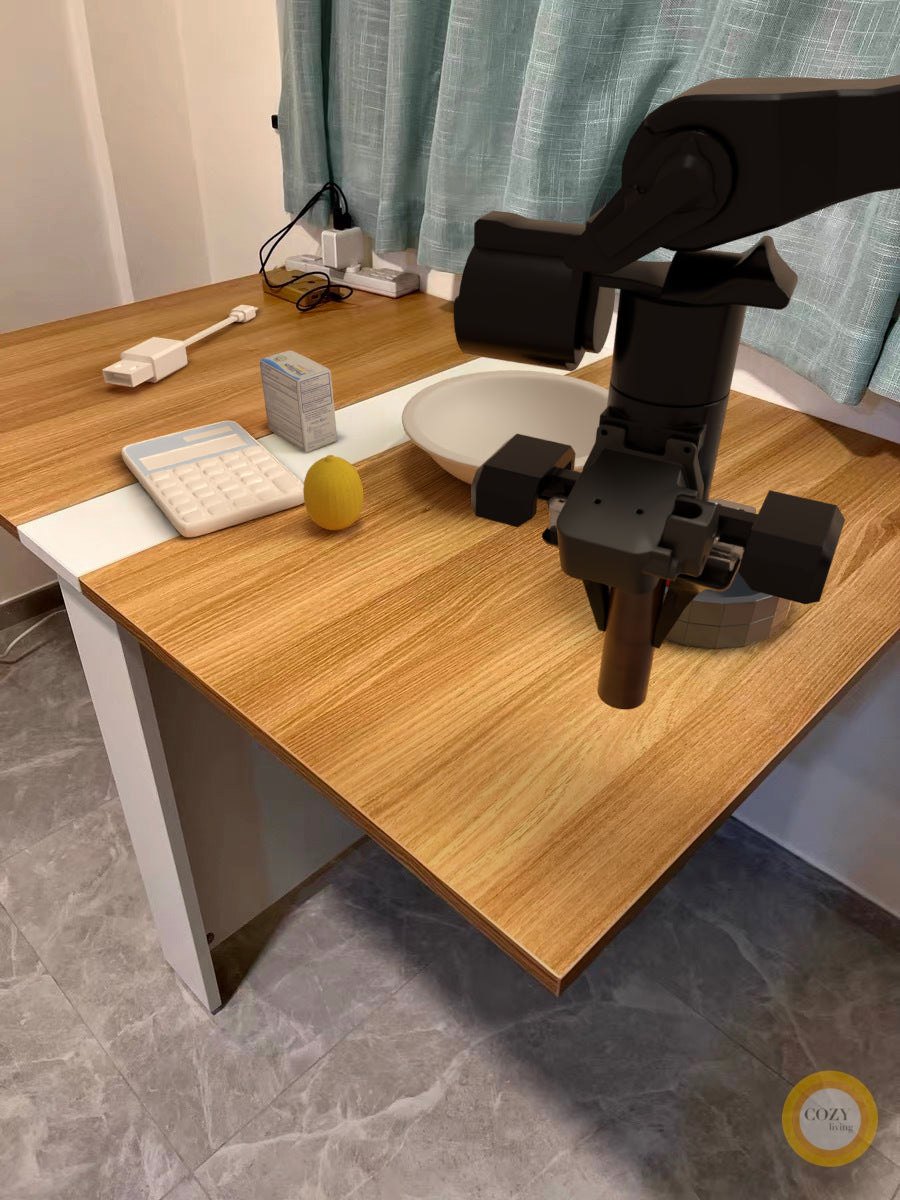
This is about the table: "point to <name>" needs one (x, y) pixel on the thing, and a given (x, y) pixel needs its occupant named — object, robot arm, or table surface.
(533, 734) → the table surface
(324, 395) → the medicine box
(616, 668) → the brown cylinder
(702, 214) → the robot arm
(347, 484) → the lemon
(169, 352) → the charging cable
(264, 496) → the calculator
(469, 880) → the table surface
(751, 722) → the table surface
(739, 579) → the bowl
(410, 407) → the soup bowl
